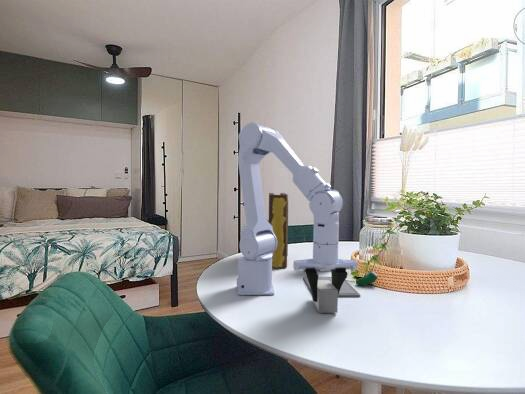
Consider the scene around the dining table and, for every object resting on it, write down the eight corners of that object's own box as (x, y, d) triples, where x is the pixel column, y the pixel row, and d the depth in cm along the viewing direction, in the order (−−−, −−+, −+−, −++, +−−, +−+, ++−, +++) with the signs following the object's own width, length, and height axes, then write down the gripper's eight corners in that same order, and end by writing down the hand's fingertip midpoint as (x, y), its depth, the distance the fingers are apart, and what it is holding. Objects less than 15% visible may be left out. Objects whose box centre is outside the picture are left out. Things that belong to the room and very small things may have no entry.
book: (290, 268, 102) (291, 195, 100) (265, 268, 102) (266, 194, 101) (286, 253, 124) (287, 192, 123) (265, 253, 124) (266, 192, 123)
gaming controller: (364, 293, 85) (381, 279, 84) (355, 283, 85) (371, 269, 84) (360, 282, 94) (375, 270, 93) (352, 273, 95) (366, 261, 93)
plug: (319, 312, 67) (319, 290, 66) (310, 296, 76) (310, 276, 76) (337, 312, 67) (337, 289, 67) (326, 296, 76) (326, 276, 76)
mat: (314, 297, 77) (314, 294, 77) (303, 278, 92) (303, 276, 92) (360, 296, 77) (360, 294, 77) (342, 278, 92) (342, 276, 92)
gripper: (297, 245, 65) (296, 307, 66) (363, 246, 66) (361, 306, 66) (292, 239, 72) (291, 295, 73) (351, 239, 73) (350, 294, 74)
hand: (324, 300), depth 70 cm, fingers closed on plug, 4 cm apart
